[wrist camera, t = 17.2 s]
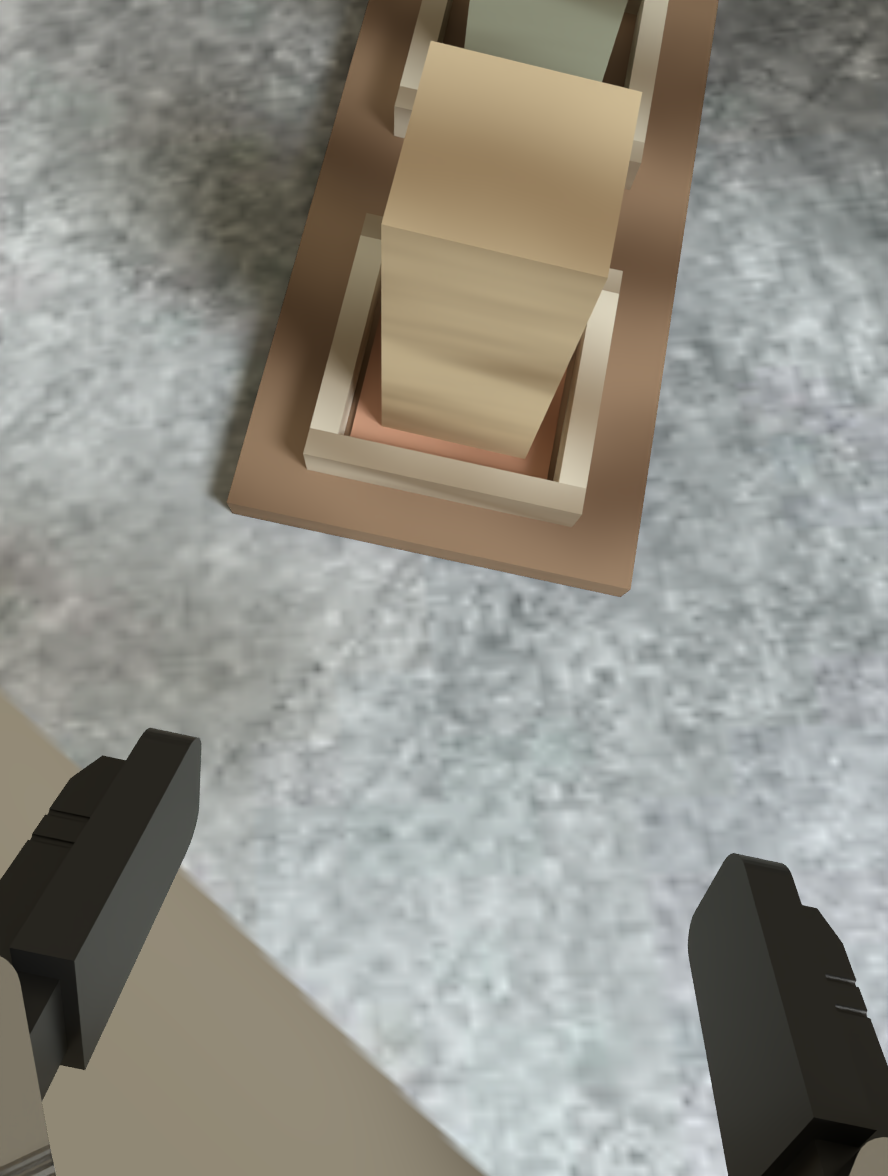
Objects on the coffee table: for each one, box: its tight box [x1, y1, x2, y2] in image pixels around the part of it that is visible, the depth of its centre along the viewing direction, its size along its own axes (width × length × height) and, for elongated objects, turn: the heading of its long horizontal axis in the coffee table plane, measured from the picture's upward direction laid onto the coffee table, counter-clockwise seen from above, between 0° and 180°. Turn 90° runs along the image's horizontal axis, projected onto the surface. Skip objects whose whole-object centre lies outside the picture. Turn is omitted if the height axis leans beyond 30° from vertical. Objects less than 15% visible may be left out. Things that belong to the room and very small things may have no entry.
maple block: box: [381, 41, 642, 459], centre depth 20 cm, size 4×4×9 cm
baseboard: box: [227, 0, 718, 597], centre depth 22 cm, size 23×12×10 cm, turn 169°
